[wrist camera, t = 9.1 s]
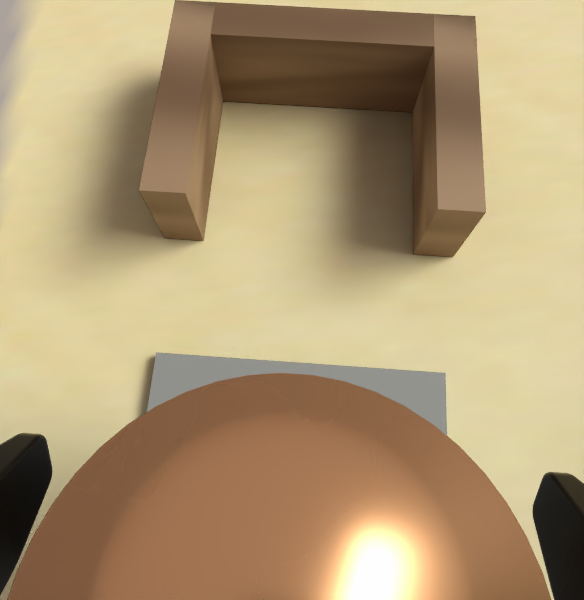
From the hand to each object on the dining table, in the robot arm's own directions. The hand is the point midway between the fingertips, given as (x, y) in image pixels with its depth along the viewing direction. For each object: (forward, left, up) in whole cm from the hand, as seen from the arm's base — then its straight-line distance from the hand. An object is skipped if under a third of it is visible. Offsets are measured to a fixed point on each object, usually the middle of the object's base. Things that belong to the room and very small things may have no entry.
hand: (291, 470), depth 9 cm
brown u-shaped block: (+9, +8, -8) cm, 15 cm away
